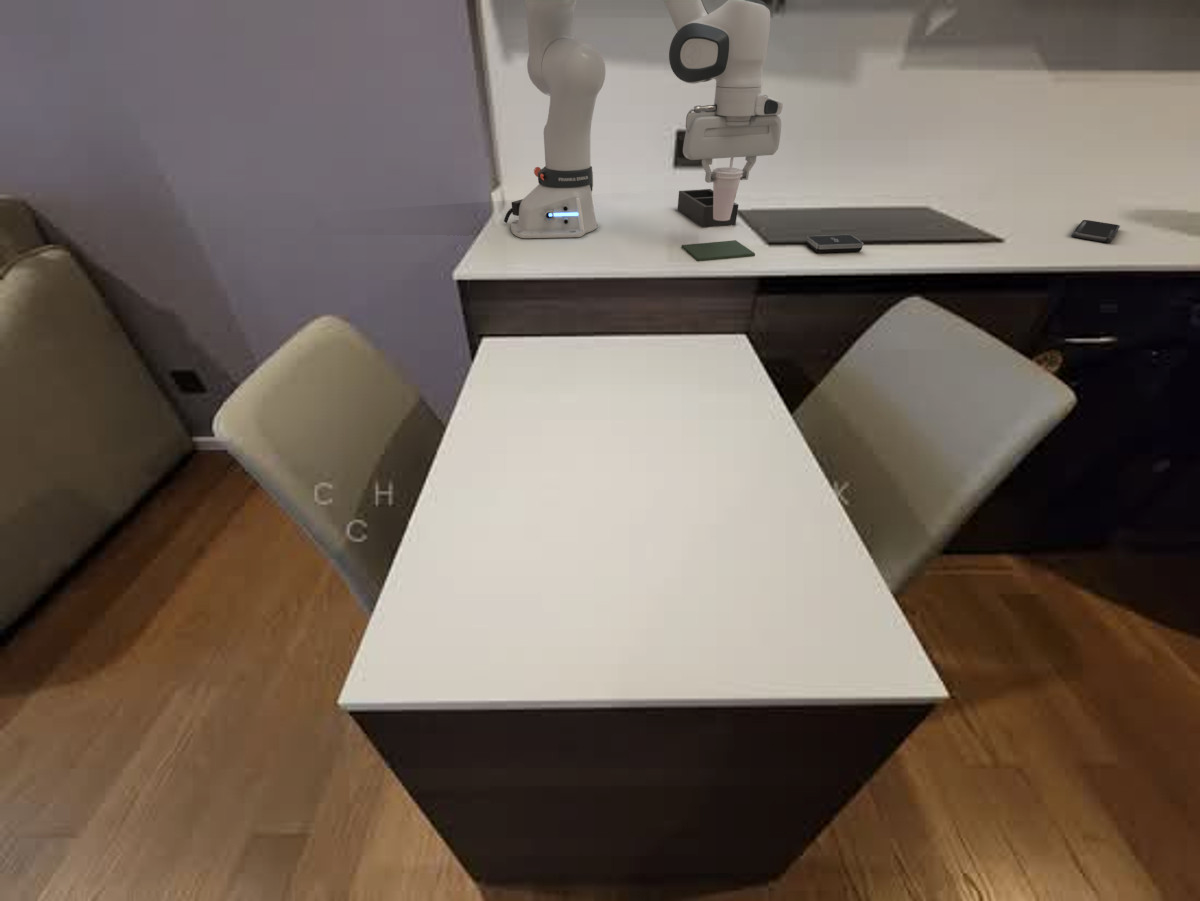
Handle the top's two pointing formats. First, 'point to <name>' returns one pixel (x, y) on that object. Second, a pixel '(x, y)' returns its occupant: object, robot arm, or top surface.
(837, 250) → the external hard drive
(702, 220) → the holder
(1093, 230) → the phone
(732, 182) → the smoothie
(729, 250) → the mat
